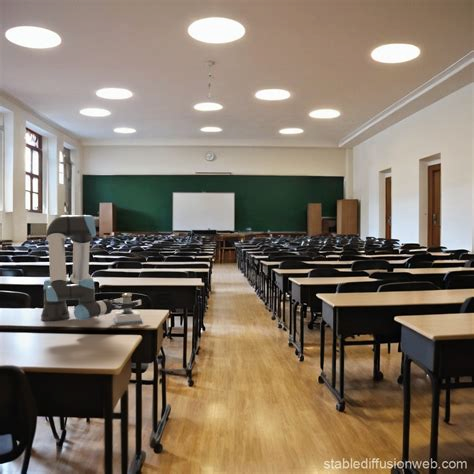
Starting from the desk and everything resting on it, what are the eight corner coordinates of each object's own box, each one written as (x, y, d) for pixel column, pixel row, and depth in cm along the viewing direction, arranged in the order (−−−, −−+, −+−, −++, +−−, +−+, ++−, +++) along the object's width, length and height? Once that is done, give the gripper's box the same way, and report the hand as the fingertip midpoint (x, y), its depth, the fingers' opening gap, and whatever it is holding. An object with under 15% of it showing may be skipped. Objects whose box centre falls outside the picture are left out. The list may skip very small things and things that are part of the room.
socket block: (113, 319, 246) (113, 311, 246) (138, 317, 251) (138, 309, 251) (115, 324, 233) (115, 316, 233) (142, 322, 238) (142, 314, 238)
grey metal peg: (122, 318, 244) (121, 293, 243) (131, 317, 245) (131, 292, 245) (123, 320, 239) (122, 294, 238) (133, 319, 240) (132, 294, 240)
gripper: (85, 312, 233) (115, 305, 251) (119, 317, 220) (148, 309, 238) (85, 298, 232) (115, 292, 251) (119, 302, 220) (148, 296, 238)
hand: (131, 301), depth 245 cm, fingers open, 13 cm apart
